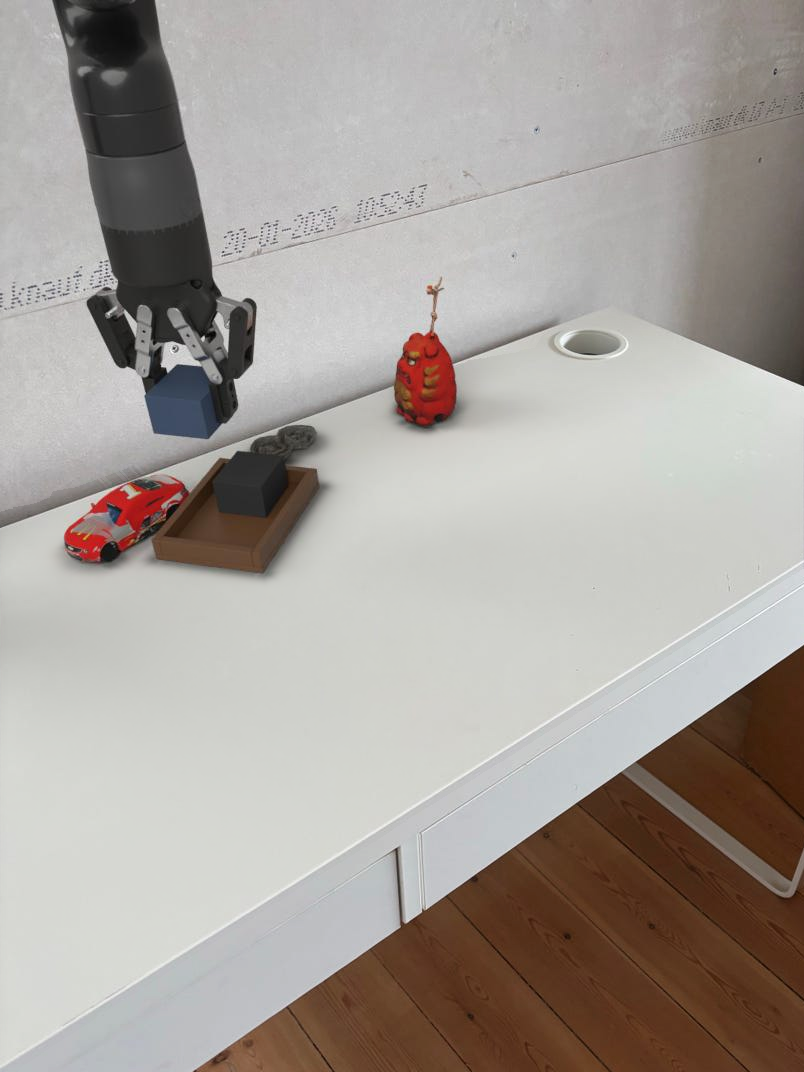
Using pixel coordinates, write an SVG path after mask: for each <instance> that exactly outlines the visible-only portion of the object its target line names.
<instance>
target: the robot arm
mask: <svg viewBox="0 0 804 1072" xmlns="http://www.w3.org/2000/svg"><path fill="white" fill-rule="evenodd" d="M51 2H52V6H53V10H54V12H55V16H56V20H57V23H58V26H59V31H60V33H61V38H62V40H63V45H64V49H65V52H66V57H67V69H68V71H67V72H68V79H69V86H70V93H71V97H72V102H73V106H74V110H75V111H74V112H75V114H76V119H77V123H78V127H79V130H80V135H81V139H82V143H83V146H84V150H85V155H86V162H87V171H88V179H89V184H90V189H91V194H92V197H93V203H94V206H95V210H96V213H97V218H98V221H99V225H100V229H101V233H102V237H103V241H104V246H105V249H106V252H107V253H106V254H107V257H108V261H109V265H110V269H111V273H112V275H113V277H114V278H115V279H116V280H117V285H116V288H113V289H112V288H111V287H109V286H104V287H102V288H101V289H99V290H98V291H96V292H95V293H94V294H92V295H91V296H90V297H89V298H88V299H87V300H86V302H85V303H86V304H85V305H86V307H87V309H88V311H89V314H90V316H91V318H92V320H93V321H94V324H95V325H96V328H97V330H98V332H99V334H100V337H102V340H103V342H104V344H105V346H106V348H107V350H108V352H109V354H110V356H111V358H112V360H113V363H114V364H115V365H116V366H117V367H118V368H119V369H126V368H130V369H131V370H134V371H135V372H136V374H137V375H138V376H139V377H141V381H142V386H143V389H144V393H145V394H146V393H148V392H149V391H150V390H151V389H152V388H153V387H154V386H155V385H156V384H157V383H158V382H159V381H160V380H161V379H162V378H163V377H164V376H165V375H167V374H168V370H167V367H165V366H162V363H163V361H164V352H165V345H166V343H171V342H173V343H175V344H178V345H181V346H186V348H187V350H188V352H189V353H190V356H191V357H192V358H193V360H194V361H195V362H198V363H199V364H200V366H202V367H203V369H204V371H205V373H206V375H207V376H208V378H209V380H210V381H211V382H210V383H209V384H208V385H209V390H210V391H211V396H212V401H213V406H214V411H215V415H216V420H217V422H218V423H222V424H225V425H226V424H227V423H228V422H230V420H231V419H232V418H233V417H234V415H235V413H236V412H237V411H238V408H239V399H238V395H237V389H236V384H235V380H239V379H240V378H241V377H242V376H243V375H244V374H245V373H246V372H247V371H248V370H249V368H250V367H251V366H252V365H253V364H254V353H255V339H256V326H257V309H258V308H257V306H258V305H257V303H256V301H255V300H253V299H252V298H250V297H246V298H244V299H243V300H241V301H239V300H237V299H233V298H229V297H227V296H223V294H222V291H221V289H220V288H219V287H218V285H217V283H216V282H215V279H214V275H213V259H212V258H213V257H212V253H211V247H210V242H209V238H208V232H207V225H206V221H205V215H204V210H203V206H202V205H203V204H202V201H201V200H202V199H201V195H200V189H199V184H198V177H197V174H196V170H195V167H194V164H193V159H192V157H191V154H190V150H189V148H188V144H187V139H186V134H185V129H184V123H183V118H182V113H181V108H180V103H179V97H178V93H177V88H176V83H175V79H174V76H173V73H172V69H171V67H170V64H169V60H168V58H167V56H166V53H165V49H164V46H163V42H162V36H161V28H160V22H159V16H158V10H157V3H156V0H51ZM125 311H126V313H127V314H128V315H129V317H131V318H132V319H133V320H134V321H135V323H136V324H137V325H136V333H134V331H133V329H132V326H131V325H130V323H129V320H128V318H127V315H126V314H125ZM218 313H219V314H220V315H221V317H222V319H223V326H224V328H225V329H226V330H228V343H227V344H228V345H227V349H226V347H225V344H224V343H225V338H224V335H223V334H222V332H221V330H220V328H219V325H218V324H217V322H216V320H215V318H216V317H217V315H218ZM203 337H204V340H202V338H203Z"/></svg>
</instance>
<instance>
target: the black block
mask: <svg viewBox="0 0 804 1072" xmlns="http://www.w3.org/2000/svg"><path fill="white" fill-rule="evenodd" d="M229 459H230V460H229V462H228V463H227V464H226V465H225V467H224V468H223V469H222V470H221V471H220V473H219V474H218V475H217V476H216V478H215V479H214V480H213V481H212V482H213V487H214V492H215V497H216V501H217V506H218V511H219V512H222V513H230V514H238V515H247V516H255V517H263V518H267V516H268V515H269V513H270V512H271V510H272V509H273V508H274V506H275V505H276V503H277V502H278V501H279V499H280V498H281V496H282V495H283V493H284V492H285V491H286V489H287V488H288V486H289V484H288V478H287V472H286V465H287V464H286V459H284V456H281V455H272V454H263V453H254V452H251V451H244V450H236V452H235V453H234V454H233V455H232V457H231V458H229Z"/></svg>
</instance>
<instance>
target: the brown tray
mask: <svg viewBox="0 0 804 1072" xmlns="http://www.w3.org/2000/svg"><path fill="white" fill-rule="evenodd" d="M230 459H231V458H225V457H218V459H217V460H216V461H215V463H214V464H213V465H212V466H211V467H210V469H209V470H208V471H207V472H206V473H205V475H204V476H203V477H202V479H200V480H199V482H198V483H197V484H196V486H195V487H194V488H193V489H192V491H190V492H189V495H188V496H187V498H186V499H185V500H184V501H183V502H182V504H181V505H180V506H179V507H178V508H177V510H176V511H175V512H174V513H173V514H172V516H171V517H170V518H169V519H168V520H167V521H166V523H165V524H164V525H163V526H162V527H161V528H159V529H158V531H157V533H156V534H155V535H154V536H153V537H152V538H151V543H152V547H153V552H154V554H155V555H154V556H155V559H156V560H161V561H169V562H175V563H183V564H190V565H191V564H192V565H197V566H205V567H206V566H207V567H213V568H221V569H229V570H234V571H235V570H236V571H243V572H249V573H259V574H263V573H264V572H265V571H266V569H267V568H268V567H269V565H270V563H271V562H272V560H273V558H274V557H275V555H276V554H277V553H278V551H279V549H280V548H281V546H282V545H283V543H284V542H285V540H286V539H287V538H288V536H289V534H290V533H291V531H292V530H293V528H294V527H295V525H296V523H297V522H298V521H299V519H300V517H301V516H302V514H303V513H304V512H305V510H306V509H307V507H308V506H309V504H310V502H311V501H312V499H313V498H314V496H315V495H316V493H317V492H318V491H319V489H320V482H319V474H318V468H314V467H305V466H297V465H288V464H285V465H286V472H287V478H288V484H289V486H288V488H287V489H286V491H285V492H284V493H283V495H282V496H281V498H280V499H279V501H278V502H277V503H276V505H275V506H274V508H273V509H272V510H271V512H270V513H269V515H268V516H267V518H263V517H255V516H247V515H238V514H230V513H222V512H219V511H218V506H217V501H216V497H215V492H214V487H213V482H212V481H213V480H214V479H215V478H216V476H217V475H218V474H219V473H220V471H221V470H222V469H223V468H224V467H225V465H226V464H227V463H228V462H229V460H230Z"/></svg>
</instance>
